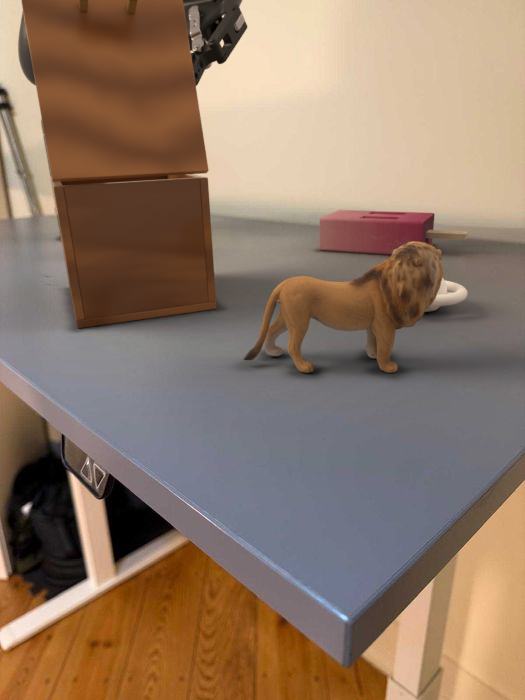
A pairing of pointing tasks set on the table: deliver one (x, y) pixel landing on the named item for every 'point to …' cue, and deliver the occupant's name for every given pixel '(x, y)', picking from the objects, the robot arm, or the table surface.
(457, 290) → the white curved piece
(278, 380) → the table surface
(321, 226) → the popsicle
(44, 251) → the table surface
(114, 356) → the table surface
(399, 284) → the lion figurine
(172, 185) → the chest
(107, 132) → the lid
